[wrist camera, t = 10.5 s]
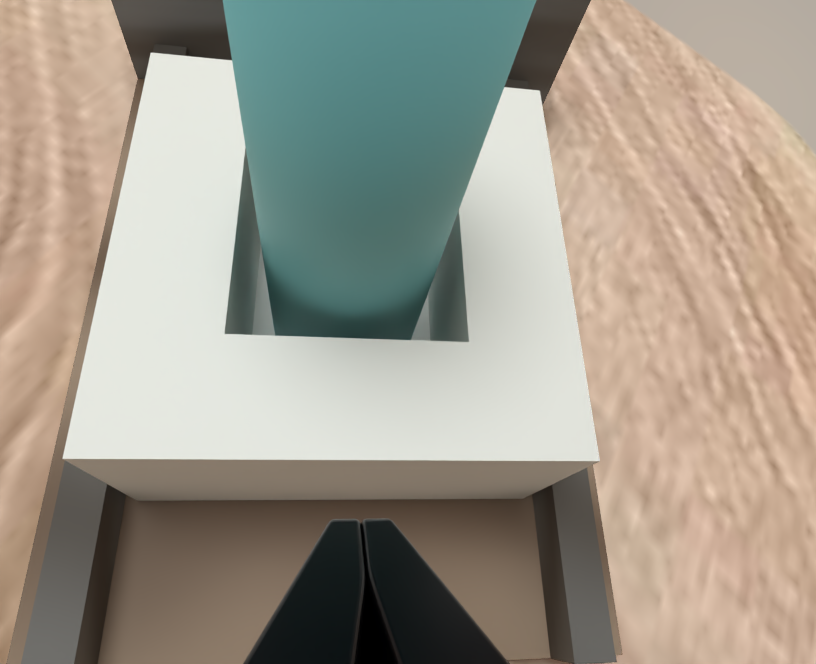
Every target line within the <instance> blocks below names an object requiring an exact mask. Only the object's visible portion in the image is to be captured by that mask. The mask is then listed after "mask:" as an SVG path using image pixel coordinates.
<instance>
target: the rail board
mask: <svg viewBox="0 0 816 664" xmlns="http://www.w3.org/2000/svg"><path fill="white" fill-rule="evenodd" d="M111 1H112V3H113V6H114V9H115V12H116V15H117V18H118V21H119V24H120V27H121V30H122V33H123V36H124V39H125V42H126V45H127V48H128V51H129V54H130V57H131V60H132V62H133V65H134V68H135V71H136V74H137V77H138V80H137V85H136V89H135V93H134V98H133V102H132V107H131V111H130V116H129V120H128V125H127V129H126V134H125V138H124V142H123V147H122V151H121V156H120V160H119V165H118V169H117V174H116V178H115V183H114V187H113V191H112V196H111V200H110V205H109V209H108V214H107V218H106V223H105V227H104V231H103V236H102V240H101V245H100V249H99V254H98V258H97V263H96V267H95V272H94V276H93V280H92V285H91V289H90V294H89V298H88V303H87V307H86V312H85V316H84V321H83V325H82V329H81V334H80V338H79V343H78V347H77V352H76V356H75V361H74V365H73V370H72V374H71V378H70V383H69V387H68V392H67V396H66V401H65V405H64V410H63V414H62V418H61V423H60V427H59V432H58V436H57V441H56V445H55V450H54V454H53V459H52V463H51V467H50V472H49V476H48V481H47V485H46V490H45V494H44V499H43V503H42V508H41V512H40V516H39V521H38V525H37V530H36V534H35V539H34V543H33V548H32V552H31V556H30V561H29V565H28V570H27V574H26V579H25V583H24V588H23V592H22V597H21V601H20V605H19V610H18V614H17V619H16V623H15V628H14V632H13V637H12V641H11V646H10V650H9V654H8V659H7V663H6V664H243V663H244V661H245V660H246V658H247V656H248V655H249V653H250V652H251V650H252V648H253V647H254V645H255V643H256V642H257V640H258V638H259V637H260V635H261V633H262V632H263V630H264V628H265V627H266V625H267V623H268V622H269V620H270V618H271V617H272V615H273V613H274V612H275V610H276V609H277V607H278V605H279V604H280V602H281V600H282V599H283V597H284V595H285V594H286V592H287V590H288V589H289V587H290V585H291V584H292V582H293V580H294V579H295V577H296V575H297V574H298V572H299V570H300V569H301V567H302V566H303V564H304V562H305V561H306V559H307V557H308V556H309V554H310V552H311V551H312V549H313V547H314V546H315V544H316V542H317V541H318V539H319V537H320V536H321V534H322V532H323V531H324V529H325V527H326V526H327V524H328V523H329V522H330V521H331V520H332V519H357V520H359V521H360V523H361V522H362V521H363V520H364V519H382V518H387V519H390V520H392V521H393V522H394V523H395V524H396V526H397V527H398V528H399V529H400V530H401V532H402V533H403V534H404V535H405V537H406V538H407V539H408V540H409V541H410V543H411V544H412V545H413V546H414V547H415V549H416V550H417V551H418V552H419V554H420V555H421V556H422V557H423V558H424V560H425V561H426V562H427V563H428V565H429V566H430V567H431V568H432V569H433V571H434V572H435V573H436V574H437V576H438V577H439V578H440V579H441V580H442V582H443V583H444V584H445V585H446V587H447V588H448V589H449V590H450V591H451V593H452V594H453V595H454V596H455V598H456V599H457V600H458V601H459V602H460V604H461V605H462V606H463V607H464V609H465V610H466V611H467V612H468V613H469V615H470V616H471V617H472V618H473V620H474V621H475V622H476V623H477V624H478V626H479V627H480V628H481V629H482V631H483V632H484V633H485V634H486V635H487V637H488V638H489V639H490V640H491V641H492V643H493V644H494V645H495V646H496V648H497V649H498V650H499V651H500V652H501V654H502V655H503V656H504V657H505V659H506V660H521V659H543V658H552V659H556V660H560V661H564V662H568V663H572V664H587V663H608V662H616V655H622V649H621V642H620V636H619V630H618V623H617V617H616V610H615V604H614V598H613V591H612V585H611V578H610V572H609V566H608V559H607V553H606V546H605V540H604V534H603V527H602V521H601V515H600V508H599V502H598V495H597V489H596V483H595V476H594V470H593V465H591V466H589V467H587V468H585V469H583V470H581V471H579V472H577V473H575V474H572V475H570V476H568V477H566V478H564V479H562V480H560V481H558V482H556V483H554V484H552V485H550V486H548V487H546V488H544V489H542V490H540V491H538V492H536V493H534V494H532V495H530V496H527V497H525V498H523V499H374V500H181V501H137V500H135V499H133V498H131V497H130V496H128V495H126V494H124V493H122V492H121V491H119V490H117V489H115V488H114V487H112V486H110V485H108V484H106V483H105V482H103V481H101V480H99V479H97V478H96V477H94V476H92V475H90V474H89V473H87V472H85V471H83V470H81V469H80V468H78V467H76V466H74V465H73V464H71V463H69V462H67V461H65V460H64V459H62V458H63V454H64V449H65V445H66V440H67V435H68V431H69V426H70V422H71V417H72V412H73V408H74V403H75V399H76V394H77V389H78V385H79V380H80V376H81V371H82V366H83V362H84V357H85V353H86V348H87V343H88V339H89V334H90V330H91V325H92V320H93V316H94V311H95V307H96V302H97V297H98V293H99V288H100V284H101V279H102V274H103V270H104V265H105V261H106V256H107V252H108V247H109V242H110V238H111V233H112V229H113V224H114V219H115V215H116V210H117V206H118V201H119V196H120V192H121V187H122V183H123V178H124V173H125V169H126V164H127V160H128V155H129V150H130V146H131V141H132V137H133V132H134V127H135V123H136V118H137V114H138V109H139V104H140V100H141V95H142V91H143V86H144V81H145V77H146V72H147V68H148V63H149V58H150V54H151V53H161V54H171V55H181V56H191V57H202V58H212V59H222V60H232V57H231V50H230V44H229V38H228V31H227V25H226V18H225V12H224V6H223V0H111ZM590 1H591V0H536V3H535V5H534V8H533V11H532V13H531V16H530V19H529V21H528V24H527V27H526V30H525V32H524V35H523V38H522V40H521V43H520V46H519V49H518V51H517V54H516V57H515V59H514V62H513V65H512V67H511V70H510V73H509V76H508V78H507V81H506V84H505V86H504V87H508V88H518V89H529V90H539V91H540V95H541V101H542V105H543V103H544V101H545V99H546V97H547V94H548V92H549V90H550V88H551V86H552V84H553V81H554V79H555V77H556V75H557V73H558V70H559V68H560V66H561V64H562V62H563V60H564V57H565V55H566V53H567V51H568V49H569V47H570V44H571V42H572V40H573V38H574V36H575V34H576V31H577V29H578V27H579V25H580V23H581V20H582V18H583V16H584V14H585V12H586V10H587V7H588V5H589V3H590Z"/></svg>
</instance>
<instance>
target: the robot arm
mask: <svg viewBox="0 0 816 664" xmlns="http://www.w3.org/2000/svg"><path fill="white" fill-rule="evenodd" d="M243 664H510V663H509V662H508V661H507V660H506V659H505V657H504V656H503V655H502V654H501V652H500V651H499V650H498V649H497V648H496V646H495V645H494V644H493V643H492V641H491V640H490V639H489V638H488V637H487V635H486V634H485V633H484V632H483V631H482V629H481V628H480V627H479V626H478V624H477V623H476V622H475V621H474V620H473V618H472V617H471V616H470V615H469V613H468V612H467V611H466V610H465V609H464V607H463V606H462V605H461V604H460V602H459V601H458V600H457V599H456V598H455V596H454V595H453V594H452V593H451V591H450V590H449V589H448V588H447V587H446V585H445V584H444V583H443V582H442V580H441V579H440V578H439V577H438V576H437V574H436V573H435V572H434V571H433V569H432V568H431V567H430V566H429V565H428V563H427V562H426V561H425V560H424V558H423V557H422V556H421V555H420V554H419V552H418V551H417V550H416V549H415V547H414V546H413V545H412V544H411V543H410V541H409V540H408V539H407V538H406V537H405V535H404V534H403V533H402V532H401V530H400V529H399V528H398V527H397V526H396V524H395V523H394V522H393V521H392V520H390V519H387V518H382V519H364V520H363V521H362V522H361V523H360V521H359V520H357V519H332V520H331V521H330V522H329V523H328V524H327V526H326V527H325V529H324V531H323V532H322V534H321V536H320V537H319V539H318V541H317V542H316V544H315V546H314V547H313V549H312V551H311V552H310V554H309V556H308V557H307V559H306V561H305V562H304V564H303V566H302V567H301V569H300V570H299V572H298V574H297V575H296V577H295V579H294V580H293V582H292V584H291V585H290V587H289V589H288V590H287V592H286V594H285V595H284V597H283V599H282V600H281V602H280V604H279V605H278V607H277V609H276V610H275V612H274V613H273V615H272V617H271V618H270V620H269V622H268V623H267V625H266V627H265V628H264V630H263V632H262V633H261V635H260V637H259V638H258V640H257V642H256V643H255V645H254V647H253V648H252V650H251V652H250V653H249V655H248V656H247V658H246V660H245V661H244V663H243Z"/></svg>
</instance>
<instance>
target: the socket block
mask: <svg viewBox="0 0 816 664" xmlns="http://www.w3.org/2000/svg"><path fill="white" fill-rule="evenodd" d="M62 459H64V460H65V461H67V462H69V463H71V464H73V465H74V466H76V467H78V468H80V469H81V470H83V471H85V472H87V473H89V474H90V475H92V476H94V477H96V478H97V479H99V480H101V481H103V482H105V483H106V484H108V485H110V486H112V487H114V488H115V489H117V490H119V491H121V492H122V493H124V494H126V495H128V496H130V497H131V498H133V499H135V500H137V501H181V500H374V499H523V498H525V497H527V496H530V495H532V494H534V493H536V492H538V491H540V490H542V489H544V488H546V487H548V486H550V485H552V484H554V483H556V482H558V481H560V480H562V479H564V478H566V477H568V476H570V475H572V474H575V473H577V472H579V471H581V470H583V469H585V468H587V467H589V466H591V465H593V464H595V463H597V462H599V461H600V459H599V453H598V447H597V440H596V434H595V428H594V422H593V416H592V410H591V403H590V397H589V391H588V385H587V379H586V373H585V366H584V360H583V354H582V348H581V342H580V335H579V329H578V323H577V317H576V311H575V305H574V298H573V292H572V286H571V280H570V274H569V268H568V261H567V255H566V249H565V243H564V237H563V230H562V224H561V218H560V212H559V206H558V200H557V193H556V187H555V181H554V175H553V169H552V163H551V156H550V150H549V144H548V138H547V132H546V125H545V119H544V113H543V107H542V101H541V95H540V91H539V90H529V89H518V88H508V87H504V89H503V92H502V94H501V97H500V100H499V103H498V105H497V108H496V111H495V113H494V116H493V119H492V122H491V124H490V127H489V130H488V132H487V135H486V138H485V140H484V143H483V146H482V149H481V151H480V154H479V157H478V159H477V162H476V165H475V168H474V170H473V173H472V176H471V178H470V181H469V184H468V186H467V189H466V192H465V195H464V197H463V200H462V203H461V205H460V208H459V211H458V214H457V216H456V219H455V222H454V224H453V227H452V230H451V232H450V235H449V238H448V241H447V243H446V246H445V249H444V251H443V254H442V257H441V260H440V262H439V265H438V268H437V270H436V273H435V276H434V278H433V281H432V284H431V287H430V289H429V292H428V295H427V297H426V300H425V303H424V306H423V308H422V311H421V314H420V316H419V319H418V322H417V324H416V327H415V330H414V333H413V335H412V338H411V340H391V339H361V338H332V337H302V336H275V331H274V326H273V319H272V313H271V306H270V300H269V294H268V287H267V281H266V274H265V268H264V262H263V255H262V249H261V242H260V236H259V230H258V223H257V217H256V210H255V204H254V198H253V191H252V185H251V178H250V172H249V166H248V159H247V153H246V146H245V140H244V134H243V127H242V121H241V114H240V108H239V102H238V95H237V89H236V82H235V76H234V70H233V63H232V60H222V59H212V58H202V57H191V56H181V55H171V54H161V53H151V54H150V58H149V63H148V68H147V72H146V77H145V81H144V86H143V91H142V95H141V100H140V104H139V109H138V114H137V118H136V123H135V127H134V132H133V137H132V141H131V146H130V150H129V155H128V160H127V164H126V169H125V173H124V178H123V183H122V187H121V192H120V196H119V201H118V206H117V210H116V215H115V219H114V224H113V229H112V233H111V238H110V242H109V247H108V252H107V256H106V261H105V265H104V270H103V274H102V279H101V284H100V288H99V293H98V297H97V302H96V307H95V311H94V316H93V320H92V325H91V330H90V334H89V339H88V343H87V348H86V353H85V357H84V362H83V366H82V371H81V376H80V380H79V385H78V389H77V394H76V399H75V403H74V408H73V412H72V417H71V422H70V426H69V431H68V435H67V440H66V445H65V449H64V454H63V458H62Z"/></svg>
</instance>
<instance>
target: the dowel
mask: <svg viewBox="0 0 816 664" xmlns="http://www.w3.org/2000/svg"><path fill="white" fill-rule="evenodd" d="M535 3H536V0H223V6H224V12H225V18H226V25H227V31H228V38H229V44H230V50H231V57H232V63H233V70H234V76H235V82H236V89H237V95H238V102H239V108H240V114H241V121H242V127H243V134H244V140H245V146H246V153H247V159H248V166H249V172H250V178H251V185H252V191H253V198H254V204H255V210H256V217H257V223H258V230H259V236H260V242H261V249H262V255H263V262H264V268H265V274H266V281H267V287H268V294H269V300H270V306H271V313H272V319H273V326H274V331H275V336H302V337H332V338H361V339H391V340H411V338H412V335H413V333H414V330H415V327H416V324H417V322H418V319H419V316H420V314H421V311H422V308H423V306H424V303H425V300H426V297H427V295H428V292H429V289H430V287H431V284H432V281H433V278H434V276H435V273H436V270H437V268H438V265H439V262H440V260H441V257H442V254H443V251H444V249H445V246H446V243H447V241H448V238H449V235H450V232H451V230H452V227H453V224H454V222H455V219H456V216H457V214H458V211H459V208H460V205H461V203H462V200H463V197H464V195H465V192H466V189H467V186H468V184H469V181H470V178H471V176H472V173H473V170H474V168H475V165H476V162H477V159H478V157H479V154H480V151H481V149H482V146H483V143H484V140H485V138H486V135H487V132H488V130H489V127H490V124H491V122H492V119H493V116H494V113H495V111H496V108H497V105H498V103H499V100H500V97H501V94H502V92H503V89H504V86H505V84H506V81H507V78H508V76H509V73H510V70H511V67H512V65H513V62H514V59H515V57H516V54H517V51H518V49H519V46H520V43H521V40H522V38H523V35H524V32H525V30H526V27H527V24H528V21H529V19H530V16H531V13H532V11H533V8H534V5H535Z"/></svg>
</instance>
